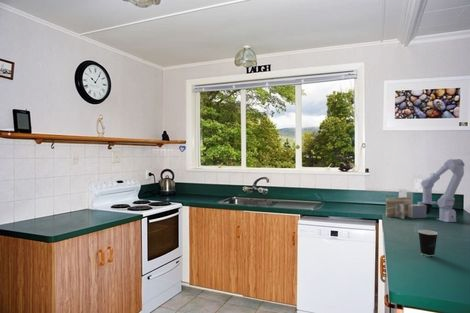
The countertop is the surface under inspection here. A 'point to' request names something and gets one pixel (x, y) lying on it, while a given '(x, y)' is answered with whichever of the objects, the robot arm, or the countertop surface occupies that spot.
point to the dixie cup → (427, 241)
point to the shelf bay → (397, 207)
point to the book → (416, 211)
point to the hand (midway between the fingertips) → (427, 214)
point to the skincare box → (406, 194)
